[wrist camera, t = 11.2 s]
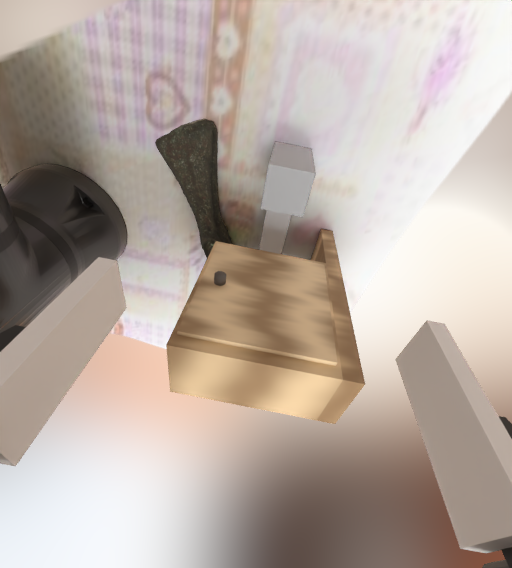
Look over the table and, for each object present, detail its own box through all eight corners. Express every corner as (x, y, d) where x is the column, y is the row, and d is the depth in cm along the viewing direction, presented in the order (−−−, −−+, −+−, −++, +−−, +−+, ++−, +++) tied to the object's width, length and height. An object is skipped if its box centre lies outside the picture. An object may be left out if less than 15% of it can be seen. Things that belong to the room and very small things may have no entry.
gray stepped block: (252, 266, 40) (242, 308, 33) (275, 141, 30) (268, 163, 23) (278, 271, 40) (274, 314, 33) (311, 148, 30) (315, 173, 23)
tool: (158, 132, 32) (143, 135, 30) (217, 115, 30) (206, 116, 27) (213, 281, 42) (205, 293, 40) (260, 277, 40) (255, 289, 38)
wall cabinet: (226, 249, 39) (170, 391, 22) (231, 201, 35) (165, 333, 17) (318, 268, 39) (334, 423, 22) (335, 222, 35) (372, 374, 17)
